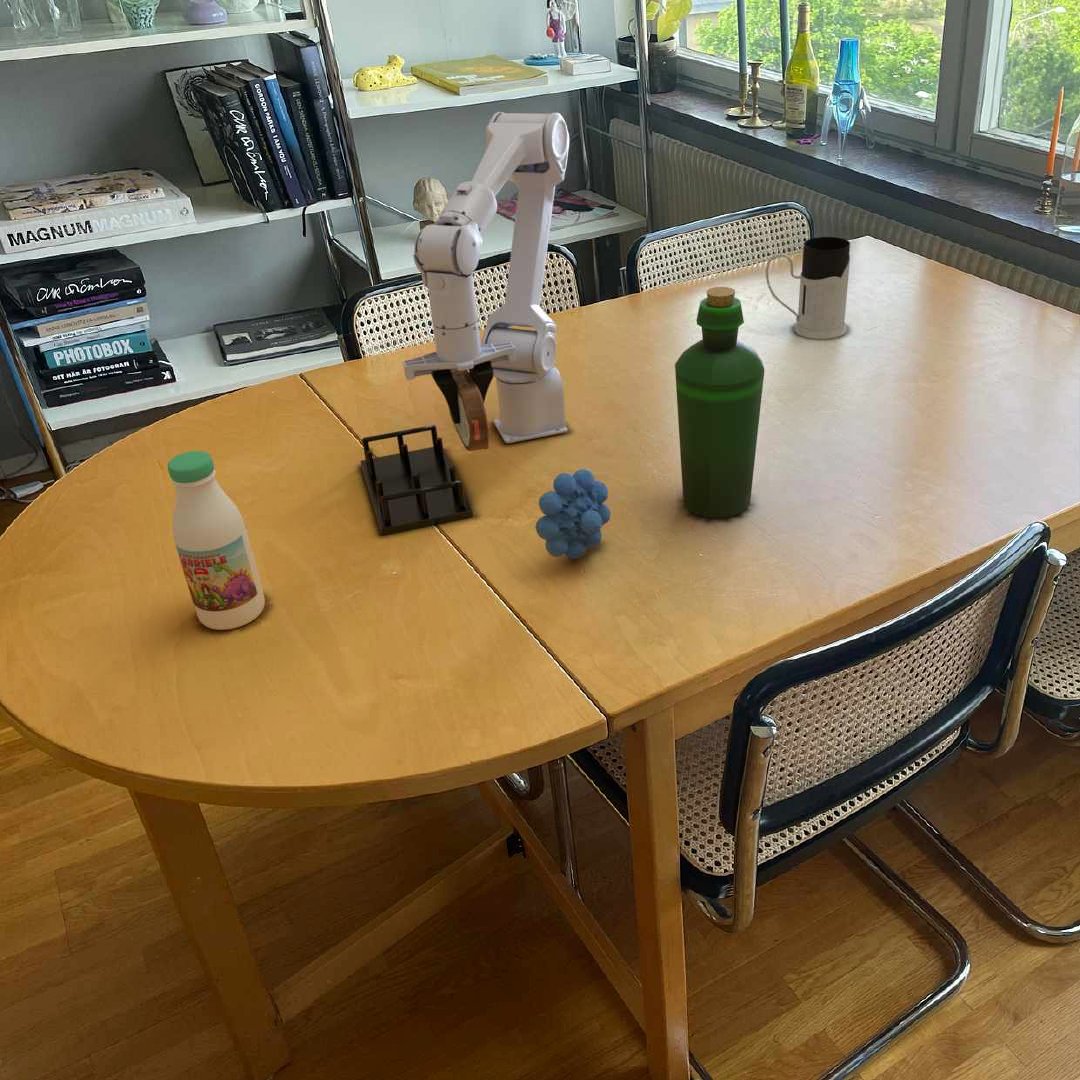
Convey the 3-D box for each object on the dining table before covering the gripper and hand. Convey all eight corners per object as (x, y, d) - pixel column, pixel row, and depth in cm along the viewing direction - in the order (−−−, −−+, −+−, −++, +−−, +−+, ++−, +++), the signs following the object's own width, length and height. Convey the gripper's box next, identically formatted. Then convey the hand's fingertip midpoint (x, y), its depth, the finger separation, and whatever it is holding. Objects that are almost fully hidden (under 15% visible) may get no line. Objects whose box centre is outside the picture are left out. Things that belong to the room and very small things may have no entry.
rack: (443, 451, 151) (439, 420, 148) (473, 516, 134) (469, 483, 131) (361, 466, 148) (355, 435, 146) (381, 535, 132) (375, 502, 129)
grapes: (568, 592, 118) (562, 501, 112) (527, 571, 123) (519, 482, 116) (635, 549, 125) (633, 461, 118) (594, 530, 129) (590, 444, 123)
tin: (491, 459, 133) (490, 399, 129) (467, 462, 133) (465, 401, 128) (466, 413, 146) (464, 356, 141) (444, 415, 145) (441, 358, 141)
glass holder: (852, 337, 175) (860, 249, 167) (767, 342, 176) (771, 255, 168) (840, 318, 183) (847, 234, 175) (759, 324, 183) (762, 239, 175)
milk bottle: (205, 596, 123) (160, 446, 112) (270, 589, 123) (231, 439, 113) (192, 635, 116) (143, 480, 106) (261, 627, 117) (218, 472, 106)
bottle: (764, 487, 135) (775, 277, 120) (751, 529, 127) (760, 310, 112) (684, 479, 138) (684, 274, 123) (665, 520, 130) (663, 305, 115)
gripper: (404, 341, 126) (419, 441, 133) (518, 322, 129) (527, 420, 136) (394, 322, 132) (409, 419, 139) (504, 304, 135) (513, 399, 142)
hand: (466, 418), depth 138 cm, fingers closed on tin, 2 cm apart
